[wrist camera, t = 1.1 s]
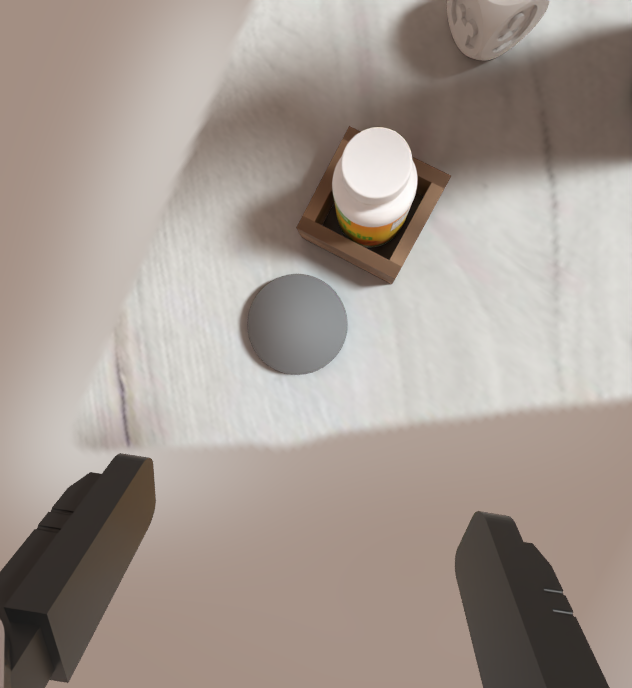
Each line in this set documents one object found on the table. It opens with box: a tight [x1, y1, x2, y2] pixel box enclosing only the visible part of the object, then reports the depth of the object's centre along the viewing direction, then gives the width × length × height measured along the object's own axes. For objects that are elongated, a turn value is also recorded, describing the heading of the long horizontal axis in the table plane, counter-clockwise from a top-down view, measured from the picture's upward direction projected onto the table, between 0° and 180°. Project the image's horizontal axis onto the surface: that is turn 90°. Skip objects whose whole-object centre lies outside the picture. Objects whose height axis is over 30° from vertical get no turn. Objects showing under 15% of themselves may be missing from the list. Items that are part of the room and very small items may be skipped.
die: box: [447, 0, 550, 60], centre depth 28 cm, size 5×5×5 cm
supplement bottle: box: [332, 127, 417, 247], centre depth 27 cm, size 5×5×10 cm
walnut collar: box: [296, 126, 451, 284], centre depth 30 cm, size 8×8×3 cm
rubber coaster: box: [248, 274, 347, 375], centre depth 32 cm, size 8×8×1 cm
